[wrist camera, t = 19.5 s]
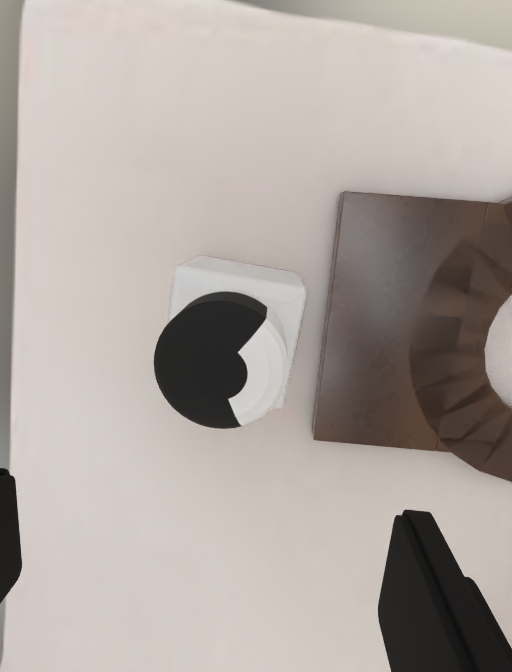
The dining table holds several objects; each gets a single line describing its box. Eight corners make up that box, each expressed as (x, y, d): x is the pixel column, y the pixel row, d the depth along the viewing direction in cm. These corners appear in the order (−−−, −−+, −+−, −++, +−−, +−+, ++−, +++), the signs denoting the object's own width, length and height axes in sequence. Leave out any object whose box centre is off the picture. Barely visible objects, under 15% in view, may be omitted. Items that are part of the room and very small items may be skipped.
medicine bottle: (184, 352, 31) (129, 432, 19) (197, 254, 29) (144, 276, 17) (281, 370, 31) (285, 460, 19) (301, 272, 29) (317, 307, 17)
